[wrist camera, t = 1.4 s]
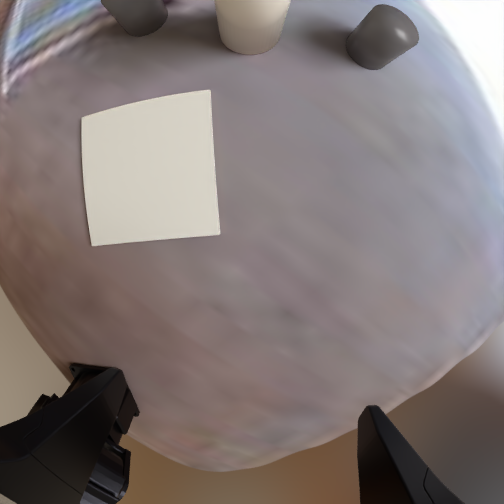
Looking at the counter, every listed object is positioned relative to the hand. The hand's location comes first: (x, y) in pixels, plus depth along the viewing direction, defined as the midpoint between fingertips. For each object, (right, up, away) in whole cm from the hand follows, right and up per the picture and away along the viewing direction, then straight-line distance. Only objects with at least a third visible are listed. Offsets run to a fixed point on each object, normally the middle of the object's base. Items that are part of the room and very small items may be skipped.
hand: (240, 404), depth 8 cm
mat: (-7, +11, +9) cm, 16 cm away
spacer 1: (-8, +23, +6) cm, 25 cm away
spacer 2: (+9, +21, +7) cm, 24 cm away
